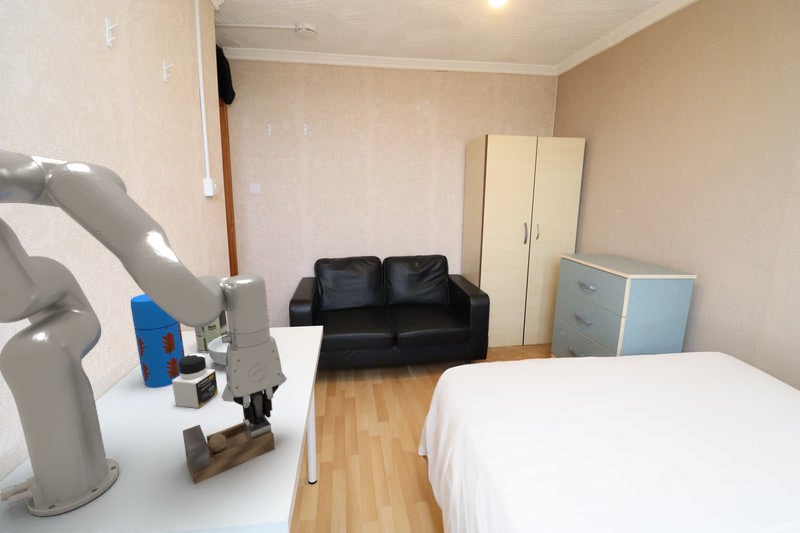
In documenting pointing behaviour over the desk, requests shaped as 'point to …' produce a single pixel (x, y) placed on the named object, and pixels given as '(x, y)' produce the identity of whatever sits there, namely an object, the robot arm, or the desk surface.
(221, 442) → the nut
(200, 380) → the medicine bottle
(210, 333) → the coffee can
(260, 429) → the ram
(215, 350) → the cereal bowl
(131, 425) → the desk surface
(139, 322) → the thermos
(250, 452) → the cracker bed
